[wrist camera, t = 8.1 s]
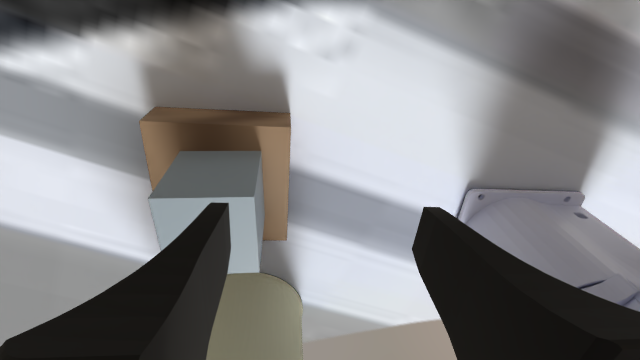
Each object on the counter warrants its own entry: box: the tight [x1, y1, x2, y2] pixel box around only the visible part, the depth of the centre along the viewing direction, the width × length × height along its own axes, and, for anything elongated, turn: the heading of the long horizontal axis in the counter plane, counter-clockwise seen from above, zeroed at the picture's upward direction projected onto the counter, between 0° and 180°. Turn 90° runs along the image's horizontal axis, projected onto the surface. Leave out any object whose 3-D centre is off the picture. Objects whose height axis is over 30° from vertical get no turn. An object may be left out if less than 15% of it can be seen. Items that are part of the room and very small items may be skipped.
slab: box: [139, 107, 291, 240], centre depth 21 cm, size 8×8×3 cm
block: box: [148, 151, 265, 274], centre depth 18 cm, size 4×4×5 cm
